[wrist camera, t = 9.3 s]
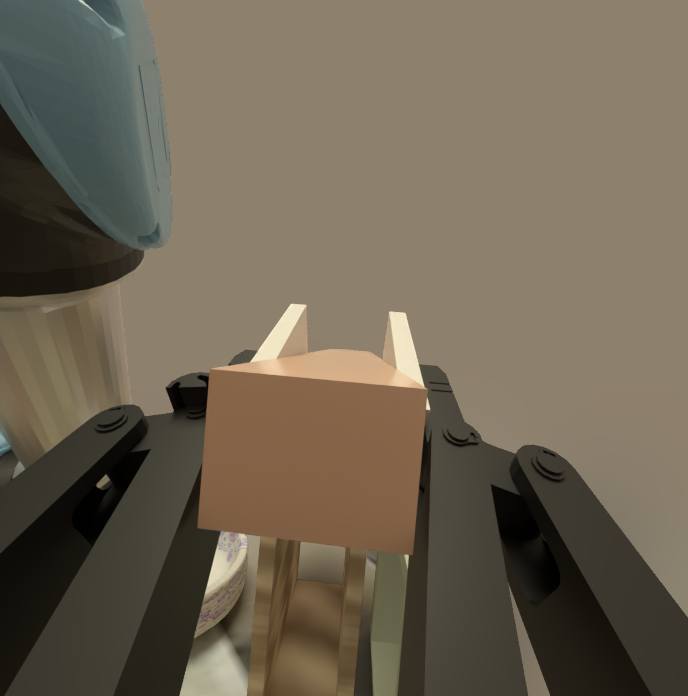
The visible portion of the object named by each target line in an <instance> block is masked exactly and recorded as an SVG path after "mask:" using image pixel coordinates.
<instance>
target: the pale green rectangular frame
mask: <svg viewBox="0 0 688 696" xmlns="http://www.w3.org/2000/svg"><path fill="white" fill-rule="evenodd" d="M408 560H409V555H405V554H397V553H389V552H381V551H378V552H377V561H376V572H375V583H374V594H373V605H372V615H371V626H370V650H371V671H372V693H373V696H397V694H398V682H399V670H400V658H401V645H402V633H403V621H404V609H405V596H406V584H407V572H408Z"/></svg>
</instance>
